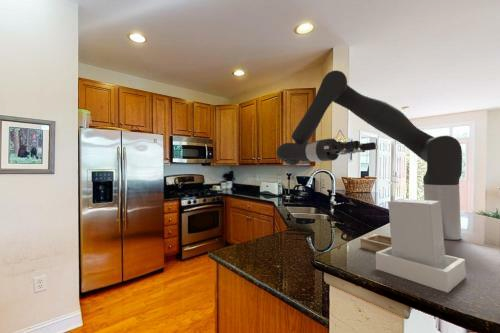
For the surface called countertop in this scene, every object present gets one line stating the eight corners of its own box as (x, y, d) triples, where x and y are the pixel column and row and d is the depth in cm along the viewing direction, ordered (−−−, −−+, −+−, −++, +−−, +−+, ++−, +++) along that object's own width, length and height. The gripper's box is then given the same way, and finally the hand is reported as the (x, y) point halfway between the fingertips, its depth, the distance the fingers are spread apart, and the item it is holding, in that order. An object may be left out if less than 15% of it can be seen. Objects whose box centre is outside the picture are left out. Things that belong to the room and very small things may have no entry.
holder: (376, 241, 71) (376, 233, 71) (418, 251, 62) (417, 242, 62) (360, 247, 66) (360, 238, 66) (403, 258, 57) (402, 248, 57)
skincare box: (446, 272, 48) (444, 200, 48) (435, 280, 44) (433, 203, 45) (402, 260, 54) (400, 197, 55) (389, 266, 51) (387, 199, 52)
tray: (398, 258, 57) (397, 244, 57) (465, 277, 47) (465, 259, 47) (376, 268, 51) (375, 252, 51) (447, 292, 41) (447, 272, 41)
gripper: (307, 138, 77) (353, 130, 63) (334, 141, 85) (379, 134, 71) (308, 161, 76) (354, 157, 63) (334, 161, 84) (380, 158, 71)
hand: (367, 145), depth 67 cm, fingers open, 8 cm apart
